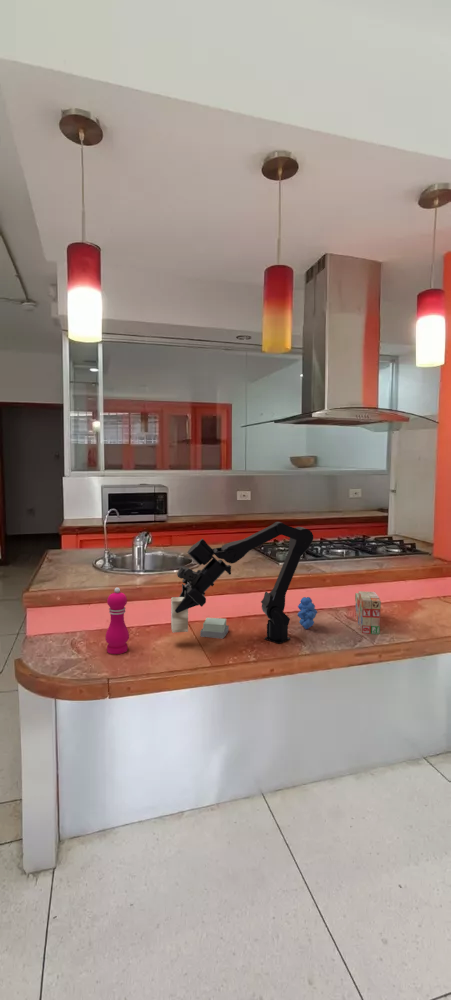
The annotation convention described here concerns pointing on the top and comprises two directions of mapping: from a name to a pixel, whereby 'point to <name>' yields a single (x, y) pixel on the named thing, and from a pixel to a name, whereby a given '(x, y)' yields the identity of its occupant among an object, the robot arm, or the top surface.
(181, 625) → the ash pillar
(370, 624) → the stack of blocks
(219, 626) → the tower top block
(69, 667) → the top surface
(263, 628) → the top surface
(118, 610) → the pepper mill
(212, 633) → the tower base block
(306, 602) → the grapes
